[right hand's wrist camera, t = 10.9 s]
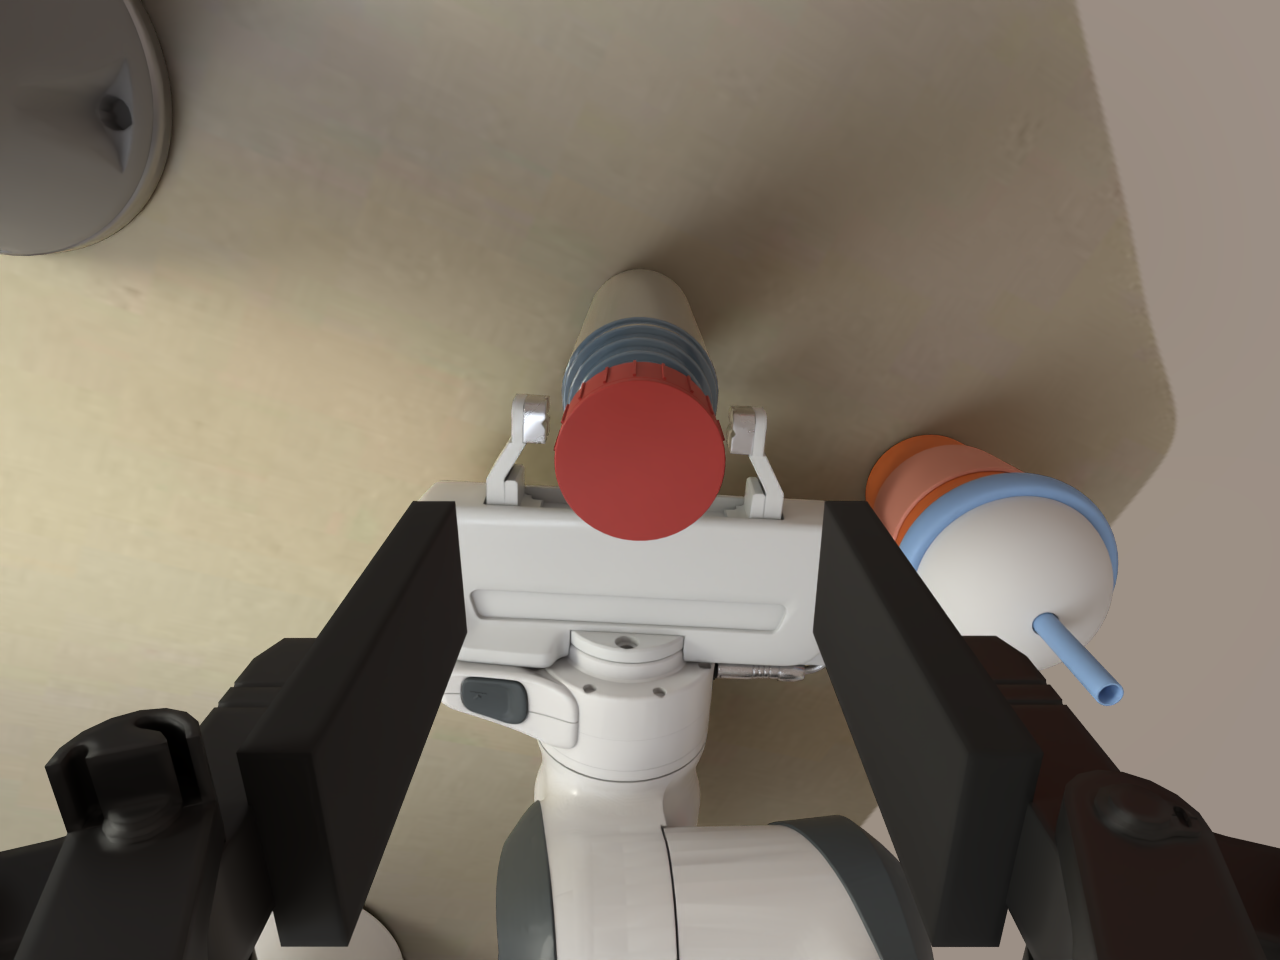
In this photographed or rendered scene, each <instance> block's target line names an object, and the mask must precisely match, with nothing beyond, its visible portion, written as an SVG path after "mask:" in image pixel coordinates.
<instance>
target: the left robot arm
mask: <svg viewBox="0 0 1280 960" xmlns="http://www.w3.org/2000/svg"><path fill="white" fill-rule="evenodd" d="M549 409H550V396H544V395H529V394H516V396H515V397H514V399H513V404H512V435H511V437H510V439H509V440H508V442H507V444H506V445H505V447H504V448H503V450H502V452H501V453H500V455H499V457H498V458H497V460H496V461H495V463H494V465H493V467H492V469H491V471H490V473H489V475H488V477H487V478H486V483H484V482H465V481H448V480H443V481H438V482H436V483H434V484H433V485H432V486H431V487H430V488H429V489H428V490H427V491H426V492H425V493H424V494H423V495H422V496H421V497H420V499H419V500H418V501H455V503H456V514H457V525H458V536H459V547H460V557H461V568H462V579H463V590H464V601H465V611H466V622H467V635H466V637H465V640H464V643H463V645H462V648H461V651H460V653H459V656H458V658H457V661H456V664H455V666H454V669H453V672H452V674H451V677H450V679H449V682H448V685H447V687H446V690H445V693H444V695H443V698H442V701H441V702H442V703H443V704H445V705H446V706H448V707H450V708H452V709H454V710H457V711H460V712H463V713H466V714H469V715H473V716H476V717H479V718H482V719H485V720H488V721H491V722H494V723H497V724H500V725H503V726H506V727H509V728H511V729H514V730H517V731H519V732H521V733H524V734H526V735H529V736H531V737H533V738H535V739H537V741H538V744H539V747H540V750H541V753H542V764H541V766H540V769H539V771H538V774H537V779H536V783H535V792H534V803H533V804H532V805H531V806H530V807H529V808H528V810H527V811H526V812H525V813H524V815H523V816H522V817H521V819H520V820H519V822H518V823H517V825H516V826H515V828H514V829H513V831H512V832H511V834H510V835H509V837H508V838H507V840H506V841H505V843H504V846H503V849H502V853H501V857H500V862H499V868H498V875H497V887H496V920H497V936H498V949H499V955H498V960H934V958H933V953H932V948H931V943H930V940H929V937H928V935H927V932H926V929H925V927H924V924H923V921H922V919H921V916H920V914H919V911H918V908H917V906H916V903H915V900H914V898H913V895H912V893H911V890H910V887H909V885H908V882H907V879H906V877H905V874H904V872H903V869H902V866H901V864H900V862H899V861H898V860H897V859H896V858H895V857H894V856H893V855H892V854H891V853H890V852H889V851H888V850H887V849H886V848H885V847H884V846H883V845H882V844H881V843H880V842H878V841H877V840H876V839H875V838H873V837H872V836H871V835H870V834H869V833H867V832H866V831H865V830H864V829H862V828H861V827H859V826H858V825H857V824H855V823H854V822H852V821H851V820H850V819H848V818H846V817H844V816H840V815H831V816H823V817H814V818H806V819H797V820H788V821H778V822H773V823H769V824H768V825H751V826H697V823H698V815H699V807H700V785H699V780H698V776H697V773H696V765H697V763H698V762H699V759H700V757H701V755H702V753H703V751H704V748H705V744H706V740H707V733H708V724H709V715H710V705H711V696H712V685H713V680H715V678H721V679H742V680H744V679H757V678H758V679H762V678H763V679H767V678H769V679H777V681H784V682H794V681H801V680H804V678H805V674H811V673H815V672H817V671H819V670H821V669H823V668H825V667H826V666H825V664H824V661H823V658H822V656H821V653H820V651H819V648H818V645H817V643H816V640H815V637H814V635H813V622H814V611H815V601H816V590H817V579H818V568H819V557H820V547H821V536H822V525H823V514H824V503H825V501H823V500H805V499H787V498H784V493H783V491H782V489H781V487H780V484H779V482H778V480H777V478H776V475H775V473H774V471H773V469H772V467H771V465H770V463H769V461H768V458H767V456H766V454H765V452H764V446H765V437H766V429H767V414H766V412H765V410H764V408H763V407H751V406H730V409H729V417H728V418H729V421H730V423H731V424H730V425H729V426H728V427H727V437H726V442H727V445H728V446H729V451H730V453H731V454H744V455H748V456H749V458H750V460H751V462H752V464H753V466H754V468H755V471H756V473H757V475H758V477H759V479H758V478H757V477H749V478H747V481H746V489H745V496H729V495H717V496H716V498H715V500H714V501H713V503H712V504H711V506H710V507H709V509H708V510H707V511H706V512H705V513H704V514H703V515H702V516H701V517H700V518H699V519H698V520H697V521H696V522H695V523H693V524H692V525H690V526H689V527H687V528H686V529H684V530H682V531H680V532H678V533H676V534H673V535H671V536H668V537H665V538H660V539H656V540H648V541H632V540H624V539H619V538H615V537H612V536H609V535H607V534H604V533H602V532H600V531H598V530H596V529H594V528H593V527H591V526H590V525H588V524H587V523H586V522H584V521H583V520H582V519H581V518H580V517H579V516H578V515H577V514H576V513H575V512H574V511H573V510H572V509H571V507H570V506H569V504H568V503H567V501H566V500H565V498H564V496H563V494H562V492H561V490H560V488H559V486H541V485H525V480H524V466H523V465H520V464H514V463H515V461H516V460H517V458H518V457H519V455H520V453H521V452H522V450H523V448H524V447H525V445H526V444H527V443H545V442H546V440H547V436H548V434H549V431H550V417H549V415H548V414H547V413H548V412H549ZM805 665H808V666H805ZM255 951H256V955H257V959H258V960H403V958H402V954H401V952H400V949H399V947H398V945H397V943H396V941H395V940H394V938H393V937H392V935H391V934H390V932H389V931H388V930H387V929H386V928H385V927H384V926H383V925H382V924H381V923H380V922H379V921H378V920H377V919H376V918H375V917H373V916H372V915H371V914H370V913H368V912H367V911H365V910H364V909H362V911H361V914H360V916H359V919H358V921H357V924H356V927H355V929H354V932H353V935H352V937H351V940H350V943H349V945H348V947H281V945H280V940H279V936H278V932H277V927H276V923H275V919H274V914H273V911H272V913H271V915H270V917H269V919H268V921H267V923H266V925H265V927H264V929H263V931H262V933H261V935H260V937H259V939H258V941H257V943H256V945H255Z"/></svg>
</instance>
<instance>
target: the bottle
mask: <svg viewBox="0 0 1280 960" xmlns="http://www.w3.org/2000/svg"><path fill="white" fill-rule="evenodd" d="M633 360H636V362H650V363H657V364H661V365H662V363H664V364H665V366H667V367H670V368H672V369H675V370H677V371H678V372H680V373H682V374H684V375H685V376H688V375H689V376H690V378H691V380H692V381H693V382H694V383H695V384H696V385H697V386H698V387H699V388H700V389H701V390H702V392H703V393H704V394H705V396H707V395H708V396H709V399H710V402H711V405H712V408H713V411H714V414H715V417H716V411H717V404H718V381H717V377H716V372H715V369H714V367H713V364H712V361H711V359H710V356H709V354H708V351H707V349H706V346H705V344H704V341H703V338H702V336H701V333H700V331H699V328H698V326H697V323H696V320H695V318H694V315H693V313H692V310H691V308H690V305H689V303H688V300H687V298H686V296H685V294H684V293H683V291H682V290H681V289H680V287H679V286H678V285H677V284H676V283H675V282H674V281H672V280H671V279H670V278H668V277H667V276H665V275H663V274H661V273H659V272H656V271H652V270H647V269H633V270H628V271H624V272H621V273H619V274H617V275H615V276H613V277H612V278H610V279H609V280H608V281H606V282H605V283H604V284H603V285H602V286H601V287H600V288H599V290H598V291H597V293H596V294H595V296H594V298H593V300H592V303H591V305H590V308H589V310H588V313H587V315H586V318H585V320H584V323H583V326H582V328H581V331H580V333H579V336H578V338H577V341H576V344H575V346H574V349H573V351H572V354H571V356H570V359H569V361H568V364H567V367H566V369H565V372H564V376H563V381H562V404H563V412H564V411H565V408H566V405H567V404H570V402H571V401H572V399H573V397H574V396H575V394H576V393H577V392H578V390H579V389H580V388H581V385H582V383H583V382H585V383H586V382H587V381H588V380H590V379H591V378H592V377H593V376H595V375H596V374H598V373H600V372H602V371H603V370H605V367H609V368H610V367H613V366H616V365H619V364H623V363H630V362H633Z"/></svg>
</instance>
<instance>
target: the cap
mask: <svg viewBox="0 0 1280 960" xmlns="http://www.w3.org/2000/svg"><path fill="white" fill-rule="evenodd" d="M561 423H562V426H561V429H560V431H559V434H558V437H557V440H556V443H555V446H554V451H555V458H554V460H555V472H556V478H557V481H558V484H559V488H560V490H561V492H562V494H563V496H564V498H565V500H566V501H567V503H568V504H569V506H570V507H571V509H572V510H573V511H574V512H575V513H576V514H577V515H578V516H579V517H580V518H581V519H582V520H583V521H584V522H586V523H587V524H588V525H590V526H591V527H593V528H594V529H596V530H598V531H600V532H602V533H604V534H607V535H609V536H612V537H615V538H619V539H624V540H632V541H648V540H656V539H660V538H665V537H668V536H671V535H673V534H676V533H678V532H680V531H682V530H684V529H686V528H687V527H689V526H690V525H692V524H693V523H695V522H696V521H697V520H698V519H699V518H700V517H701V516H702V515H703V514H704V513H705V512H706V511H707V510H708V509H709V507H710V506H711V504H712V503H713V501H714V500H715V498H716V496H717V494H718V492H719V490H720V487H721V484H722V481H723V478H724V472H725V460H726V458H725V448H724V444H723V441H725V438H724V435H723V432H722V429H721V426H720V423H719V420H716V417H715V414H714V411H713V408H712V405H711V402H710V399H709V396H708V395H707V396H705V394H704V393H703V392H702V390H701V389H700V388H699V387H698V386H697V385H696V384H695V383H694V382H693V381H692V380H691V378H690V376H689V375H688V376H685V375H684V374H682V373H680V372H678V371H677V370H675V369H672V368H670V367H667V366H665V364H664V363H662V365H661V364H657V363H650V362H636V360H633V362H630V363H623V364H619V365H616V366H613V367H610V368H609V367H605V370H603V371H602V372H600V373H598V374H596V375H595V376H593V377H592V378H591V379H590V380H588V381H587V382H586V383H585V382H583V383H582V385H581V388H580V389H579V390H578V392H577V393H576V394H575V396H574V397H573V399H572V401H571V402H570V404H567V405H566V408H565V411H564V414H563V417H562V420H561Z"/></svg>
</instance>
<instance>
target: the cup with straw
mask: <svg viewBox="0 0 1280 960" xmlns="http://www.w3.org/2000/svg"><path fill="white" fill-rule="evenodd" d="M865 496H866V501H867V502H868V503H869V505H870V506H871V508H872V509H873V510H874V512H875V513H876V515H877V516H878V517H879V519H880V520H881V522H882V523H883V525H884V526H885V527H886V529H887V530H888V532H889V533H890V535H891V536H892V537H893V539H894V540H895V542H896V543H897V545H898V546H899V547H900V549H901V550H902V552H903V553H904V554H905V556H906V557H907V559H908V560H909V562H910V563H911V564H912V566H913V567H914V569H915V570H916V572H917V573H918V574H919V576H920V577H921V579H922V580H923V581H924V583H925V584H926V586H927V587H928V589H929V590H930V591H931V593H932V594H933V596H934V597H935V599H936V600H937V601H938V603H939V604H940V606H941V607H942V608H943V610H944V611H945V613H946V614H947V616H948V617H949V618H950V620H951V621H952V623H953V624H954V626H955V627H956V628H957V630H958V631H959V633H960V634H961V635H962V636H997V637H999V638H1000V639H1002V640H1003V641H1005V642H1006V643H1008V644H1009V645H1011V646H1012V647H1014V648H1015V649H1017V650H1018V651H1020V652H1021V653H1023V654H1025V655H1026V656H1027V657H1028V658H1029V659H1030V661H1031V662H1032V663H1033V664H1034V666H1035V667H1036V668H1037V669H1038V670H1043V669H1046V668H1049V667H1052V666H1055V665H1057V664H1059V663H1061V662H1063V663H1064V664H1065V665H1066V666H1067V667H1068V669H1069V670H1070V671H1071V672H1072V673H1073V674H1074V676H1075V677H1076V678H1077V679H1078V680H1079V681H1080V682H1081V684H1082V685H1083V686H1084V687H1085V688H1086V689H1087V690H1088V692H1089V693H1090V694H1091V695H1092V696H1093V697H1094V698H1095V700H1096V701H1097V702H1098V703H1100V704H1101V705H1105V706H1110V705H1114V704H1116V703H1117V702H1119V701H1120V700H1121V698H1122V697H1123V694H1124V691H1123V688H1122V686H1121V685H1120V684H1119V683H1118V682H1117V681H1116V680H1115V679H1114V678H1113V677H1112V676H1111V675H1110V674H1109V673H1108V671H1107V670H1106V669H1105V668H1104V667H1103V666H1102V665H1101V664H1100V663H1099V662H1098V661H1097V660H1096V659H1095V658H1094V657H1093V656H1092V655H1091V653H1090V652H1089V651H1088V650H1087V649H1086V648H1085V647H1084V646H1085V645H1087V644H1088V642H1089V641H1090V640H1091V639H1092V638H1093V637H1094V635H1095V634H1096V633H1097V631H1098V630H1099V628H1100V627H1101V625H1102V624H1103V622H1104V620H1105V618H1106V616H1107V613H1108V611H1109V607H1110V604H1111V600H1112V594H1113V590H1114V587H1115V584H1116V579H1117V573H1118V552H1117V546H1116V542H1115V539H1114V535H1113V533H1112V530H1111V528H1110V526H1109V524H1108V522H1107V520H1106V519H1105V517H1104V515H1103V514H1102V513H1101V511H1100V510H1099V509H1098V508H1097V506H1096V505H1095V504H1094V503H1093V502H1092V501H1091V500H1090V499H1089V498H1087V497H1086V496H1085V495H1084V494H1082V493H1081V492H1080V491H1078V490H1077V489H1075V488H1074V487H1072V486H1070V485H1068V484H1066V483H1064V482H1062V481H1059V480H1057V479H1054V478H1051V477H1047V476H1043V475H1039V474H1032V473H1024V472H1023V471H1021V470H1019V469H1017V468H1015V467H1013V466H1011V465H1009V464H1008V463H1006V462H1004V461H1002V460H1000V459H998V458H996V457H994V456H993V455H991V454H989V453H987V452H985V451H983V450H980V449H977V448H974V447H970V446H966V445H964V444H962V443H960V442H958V441H956V440H954V439H952V438H949V437H945V436H940V435H921V436H916V437H912V438H909V439H906V440H904V441H901V442H900V443H898V444H896V445H894V446H893V447H891V448H890V449H889V450H888V451H886V452H885V453H884V454H883V455H882V456H881V457H880V458H879V460H878V461H877V462H876V464H875V465H874V467H873V469H872V471H871V473H870V475H869V478H868V481H867V485H866V494H865Z"/></svg>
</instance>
